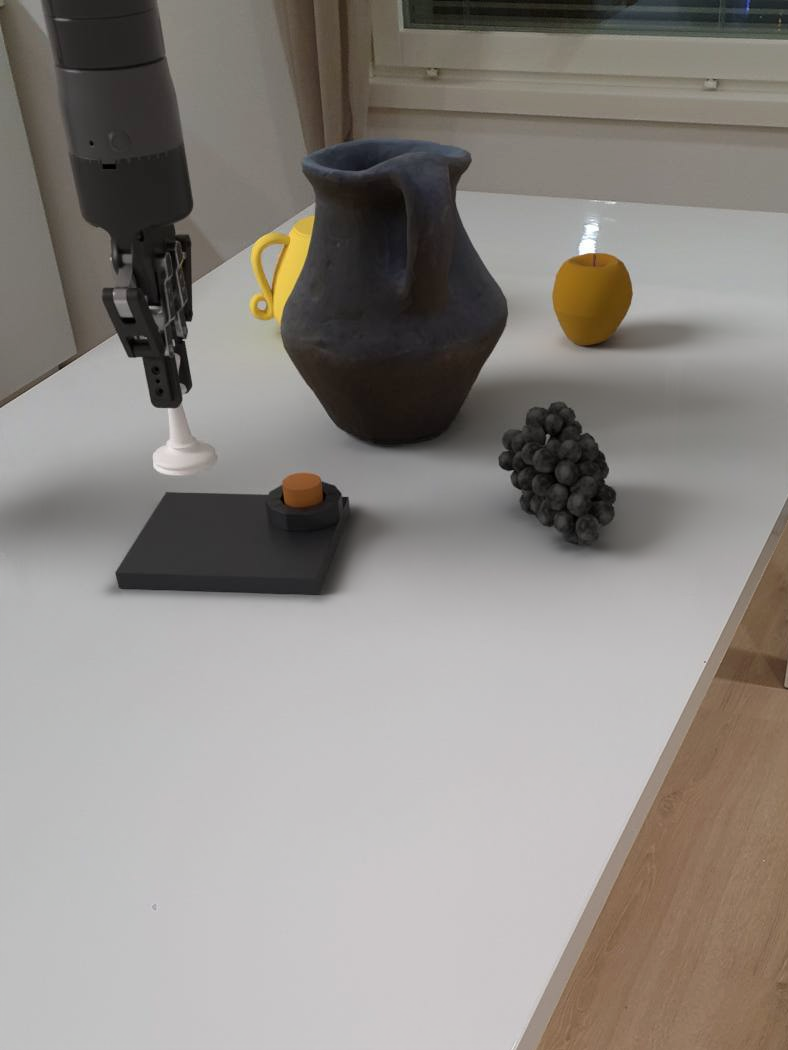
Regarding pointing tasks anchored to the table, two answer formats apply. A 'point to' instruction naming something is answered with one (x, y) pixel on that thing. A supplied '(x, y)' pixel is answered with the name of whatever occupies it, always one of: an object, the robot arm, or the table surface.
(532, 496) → the fruit
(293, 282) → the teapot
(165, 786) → the table surface
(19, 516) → the table surface
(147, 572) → the scale
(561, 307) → the apple
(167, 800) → the table surface
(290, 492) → the button
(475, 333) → the pitcher
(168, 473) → the chess piece
